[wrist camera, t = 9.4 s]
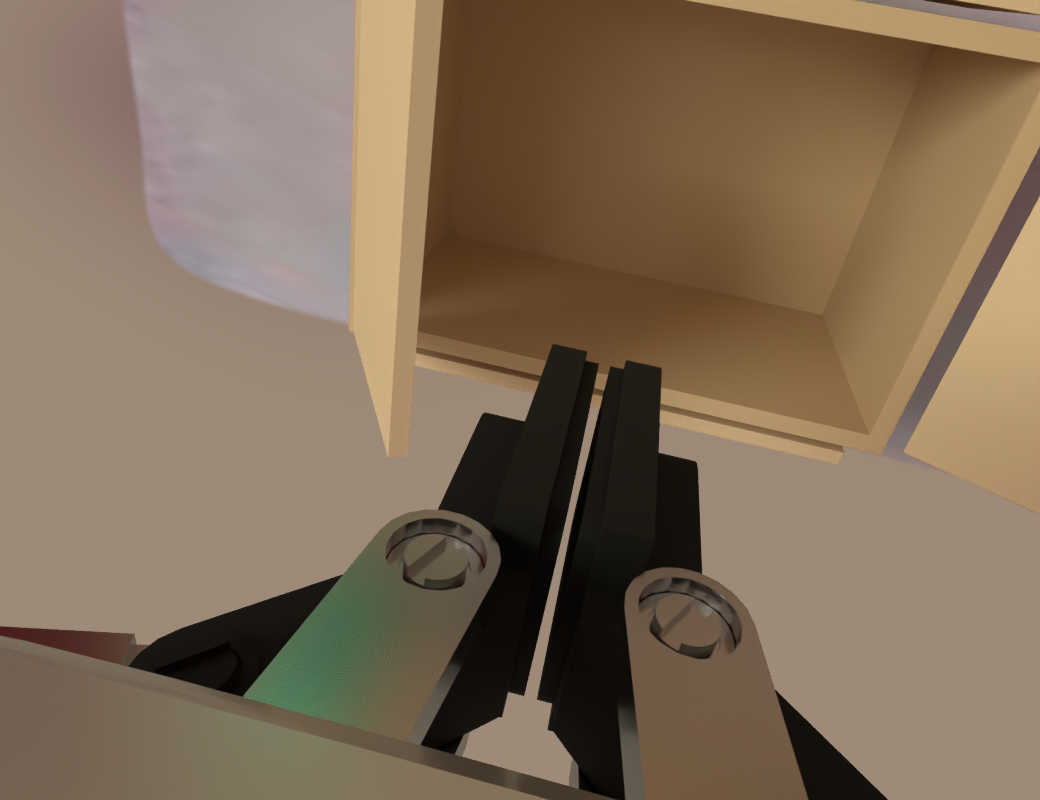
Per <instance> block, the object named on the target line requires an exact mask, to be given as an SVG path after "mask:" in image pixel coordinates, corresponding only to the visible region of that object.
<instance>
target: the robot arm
mask: <svg viewBox="0 0 1040 800" xmlns="http://www.w3.org/2000/svg"><path fill="white" fill-rule="evenodd" d="M586 356H587V351H584V350H579V349H575V348H570V347H566V346H561V345H557V344H553V345H552V347H551V350H550V353H549V356H548V358H547V361H546V364H545V367H544V370H543V372H542V375H541V378H540V381H539V384H538V387H537V389H536V392H535V395H534V398H533V401H532V404H531V406H530V409H529V412H528V415H527V417H526V420H525V422H524V421H520V420H515V419H511V418H507V417H502V416H498V415H494V414H489V413H483V414H482V416H481V418H480V420H479V422H478V424H477V426H476V429H475V431H474V433H473V435H472V437H471V439H470V441H469V444H468V446H467V448H466V450H465V452H464V454H463V457H462V459H461V461H460V463H459V465H458V467H457V470H456V472H455V474H454V476H453V478H452V481H451V482H450V485H449V487H448V489H447V491H446V493H445V495H444V498H443V500H442V502H441V504H440V506H439V509H438V510H421V511H416V512H410V513H406V514H404V515H402V516H400V517H397V518H395V519H393V520H391V521H390V522H389V523H388V524H387V525H385V526H384V527H383V528H382V529H381V530H380V531H379V532H378V533H377V534H376V535H375V537H374V538H373V539H372V540H371V541H370V543H369V544H368V545H367V546H366V547H365V549H364V550H363V551H362V553H361V554H360V555H359V556H358V557H357V558H356V560H355V561H354V562H353V563H352V564H351V566H350V567H349V568H348V570H347V571H346V572H345V573H344V574H343V575H340V576H337V577H334V578H331V579H328V580H325V581H322V582H319V583H316V584H313V585H310V586H307V587H304V588H301V589H298V590H295V591H292V592H289V593H286V594H283V595H280V596H277V597H274V598H271V599H268V600H265V601H262V602H259V603H256V604H253V605H250V606H247V607H244V608H241V609H238V610H235V611H232V612H229V613H226V614H223V615H220V616H217V617H214V618H211V619H208V620H205V621H202V622H199V623H196V624H193V625H190V626H187V627H184V628H181V629H179V630H177V631H174V632H172V633H170V634H168V635H166V636H164V637H161V638H159V639H157V640H156V641H155V642H153V643H152V644H151V645H136V639H135V634H128V633H110V632H93V631H92V632H91V631H75V630H57V629H40V628H38V629H37V628H22V627H4V626H0V800H887V798H886V797H885V796H884V795H883V794H882V793H880V791H878V790H877V789H876V788H875V787H874V786H873V785H872V784H871V783H870V782H869V781H868V780H867V779H866V778H865V777H864V776H863V775H862V774H861V773H860V772H859V771H858V770H857V769H856V768H855V767H854V766H853V765H852V764H851V763H850V762H849V761H848V760H847V759H846V758H845V757H844V756H843V755H842V754H841V753H839V751H837V750H836V749H835V748H834V747H833V746H832V745H831V744H830V743H829V742H828V741H827V740H826V739H825V738H824V737H823V736H822V735H821V734H820V733H819V732H818V731H817V730H816V729H815V728H814V727H813V726H812V725H811V724H810V723H809V722H808V721H807V720H806V719H805V718H804V717H803V716H802V715H801V714H800V713H798V711H796V710H795V709H794V708H793V707H792V706H791V705H790V704H789V703H788V702H787V701H786V700H785V699H784V698H783V697H782V696H781V695H780V694H779V693H778V692H777V691H776V690H775V689H774V685H773V682H772V679H771V676H770V672H769V669H768V666H767V662H766V659H765V656H764V653H763V650H762V646H761V643H760V640H759V636H758V633H757V630H756V626H755V624H754V622H753V620H752V618H751V616H750V614H749V611H748V609H747V608H746V607H745V606H744V604H743V603H742V602H741V601H740V600H739V599H738V598H737V596H736V595H735V594H734V593H732V592H731V591H730V590H728V589H727V588H726V587H724V586H723V585H722V584H720V583H719V582H717V581H715V580H713V579H711V578H709V577H707V576H705V575H703V574H702V561H701V560H702V559H701V535H700V511H699V489H698V488H699V486H698V468H697V463H696V462H695V461H691V460H687V459H683V458H679V457H674V456H670V455H666V454H662V453H658V449H659V426H660V403H661V380H662V368H660V367H656V366H651V365H647V364H642V363H638V362H633V361H629V360H626V362H625V365H624V369H621V368H617V367H612V366H610V369H609V373H608V377H607V381H606V385H605V389H604V393H603V397H602V401H601V405H600V410H599V414H598V418H597V422H596V426H595V430H594V434H593V438H592V442H591V447H590V451H589V455H588V459H587V463H586V467H585V471H584V475H583V479H582V483H581V488H580V491H579V495H578V500H577V504H576V508H575V512H574V517H573V521H572V526H571V531H570V536H569V541H568V546H567V552H566V556H565V562H564V566H563V571H562V576H561V581H560V586H559V591H558V596H557V602H556V606H555V611H554V616H553V622H552V627H551V631H550V636H549V642H548V647H547V652H546V656H545V662H544V666H543V671H542V676H541V682H540V686H539V691H538V697H537V700H541V701H545V702H548V703H552V708H551V714H550V719H549V725H548V730H550V731H553V732H554V733H555V734H556V736H557V737H558V738H559V740H560V741H561V743H562V744H563V745H564V747H565V748H566V749H567V751H568V752H569V753H570V755H571V756H572V758H573V760H572V763H571V769H570V776H569V786H566V785H562V784H559V783H555V782H552V781H548V780H544V779H541V778H537V777H534V776H530V775H526V774H522V773H519V772H515V771H512V770H508V769H504V768H501V767H497V766H494V765H490V764H486V763H482V762H479V761H476V760H472V759H468V758H465V757H462V755H463V753H464V751H465V748H466V744H467V740H468V737H469V732H470V731H472V730H474V729H476V728H478V727H480V726H482V725H484V724H486V723H488V722H490V721H492V720H494V719H496V718H498V717H502V715H503V711H504V707H505V702H506V698H507V694H508V692H511V693H515V694H519V695H522V696H524V694H525V690H526V685H527V681H528V677H529V672H530V668H531V664H532V660H533V656H534V652H535V648H536V644H537V639H538V635H539V631H540V627H541V622H542V618H543V614H544V610H545V605H546V601H547V597H548V593H549V589H550V585H551V581H552V576H553V572H554V568H555V564H556V559H557V555H558V551H559V547H560V543H561V539H562V534H563V530H564V525H565V521H566V517H567V512H568V508H569V503H570V498H571V494H572V489H573V484H574V479H575V475H576V470H577V465H578V461H579V456H580V451H581V447H582V442H583V437H584V433H585V428H586V423H587V418H588V413H589V409H590V404H591V400H592V395H593V390H594V386H595V381H596V376H597V371H598V367H599V363H594V362H590V361H586Z"/></svg>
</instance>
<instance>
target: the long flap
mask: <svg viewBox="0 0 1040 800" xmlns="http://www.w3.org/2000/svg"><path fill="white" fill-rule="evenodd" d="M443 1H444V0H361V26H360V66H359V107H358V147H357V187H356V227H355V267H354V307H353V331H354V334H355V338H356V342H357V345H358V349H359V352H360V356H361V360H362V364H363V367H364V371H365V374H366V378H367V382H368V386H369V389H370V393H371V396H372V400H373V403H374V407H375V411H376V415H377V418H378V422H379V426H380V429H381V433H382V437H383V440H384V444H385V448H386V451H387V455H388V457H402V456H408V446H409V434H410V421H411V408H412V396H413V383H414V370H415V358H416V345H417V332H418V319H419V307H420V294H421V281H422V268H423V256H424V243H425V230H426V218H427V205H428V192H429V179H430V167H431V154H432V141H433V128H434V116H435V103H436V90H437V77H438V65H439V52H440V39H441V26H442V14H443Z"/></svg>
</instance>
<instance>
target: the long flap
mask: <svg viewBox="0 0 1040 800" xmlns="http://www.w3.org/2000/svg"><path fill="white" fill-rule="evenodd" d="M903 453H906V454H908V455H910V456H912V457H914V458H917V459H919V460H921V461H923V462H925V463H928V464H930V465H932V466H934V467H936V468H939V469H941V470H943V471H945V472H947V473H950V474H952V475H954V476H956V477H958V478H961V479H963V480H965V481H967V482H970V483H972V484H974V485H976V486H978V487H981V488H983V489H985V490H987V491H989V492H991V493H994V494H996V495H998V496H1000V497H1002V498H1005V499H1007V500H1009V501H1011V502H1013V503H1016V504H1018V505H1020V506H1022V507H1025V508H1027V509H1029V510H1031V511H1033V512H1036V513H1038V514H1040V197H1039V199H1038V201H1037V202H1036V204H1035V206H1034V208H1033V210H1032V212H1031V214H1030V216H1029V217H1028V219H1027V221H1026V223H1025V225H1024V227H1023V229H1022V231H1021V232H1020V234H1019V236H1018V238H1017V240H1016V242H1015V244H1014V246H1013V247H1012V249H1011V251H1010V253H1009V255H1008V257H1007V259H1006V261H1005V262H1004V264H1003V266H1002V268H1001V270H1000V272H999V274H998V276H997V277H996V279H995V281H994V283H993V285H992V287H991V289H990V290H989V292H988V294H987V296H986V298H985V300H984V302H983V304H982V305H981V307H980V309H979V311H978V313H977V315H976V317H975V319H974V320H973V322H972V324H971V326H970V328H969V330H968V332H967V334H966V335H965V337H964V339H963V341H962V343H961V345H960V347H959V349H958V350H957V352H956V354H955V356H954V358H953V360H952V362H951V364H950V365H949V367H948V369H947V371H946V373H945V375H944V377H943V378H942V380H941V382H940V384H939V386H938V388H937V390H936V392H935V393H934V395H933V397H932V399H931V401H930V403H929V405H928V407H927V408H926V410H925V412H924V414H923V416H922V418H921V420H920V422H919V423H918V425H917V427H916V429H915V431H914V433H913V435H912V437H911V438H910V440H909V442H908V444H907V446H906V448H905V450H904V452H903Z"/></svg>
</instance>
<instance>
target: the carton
mask: <svg viewBox="0 0 1040 800" xmlns="http://www.w3.org/2000/svg"><path fill="white" fill-rule="evenodd" d="M925 1H930V2H936V3H942V4H948V5H954V6H960V7H966V8H973V9H983V10H993V11H1003V12H1013V13H1023V14H1032V15H1040V0H925ZM360 26H361V0H356V18H355V65H354V112H353V158H352V205H351V251H350V298H349V332H354V331H353V307H354V267H355V227H356V187H357V147H358V107H359V66H360ZM1039 147H1040V32H1035V31H1029V30H1024V29H1018V28H1012V27H1006V26H1000V25H995V24H989V23H983V22H977V21H971V20H966V19H960V18H954V17H948V16H942V15H937V14H931V13H925V12H919V11H913V10H907V9H902V8H896V7H890V6H884V5H878V4H873V3H867V2H861V1H855V0H444V1H443V14H442V26H441V39H440V52H439V65H438V77H437V90H436V103H435V116H434V128H433V141H432V154H431V167H430V179H429V192H428V205H427V218H426V230H425V243H424V256H423V268H422V281H421V294H420V307H419V319H418V332H417V345H416V358H415V366H419V367H423V368H428V369H432V370H436V371H440V372H445V373H449V374H453V375H458V376H462V377H466V378H470V379H475V380H479V381H483V382H488V383H492V384H496V385H500V386H504V387H509V388H513V389H517V390H522V391H526V392H530V393H534V394H535V392H536V389H537V387H538V384H539V381H540V378H541V375H542V372H543V370H544V367H545V364H546V361H547V358H548V356H549V353H550V350H551V347H552V345H553V344H557V345H561V346H566V347H570V348H575V349H579V350H584V351H587V356H586V361H590V362H594V363H599V367H598V371H597V376H596V381H595V386H594V390H593V395H592V400H591V404H590V407H594V408H598V409H600V405H601V401H602V397H603V393H604V389H605V385H606V381H607V377H608V373H609V369H610V366H612V367H617V368H621V369H624V365H625V362H626V360H629V361H633V362H638V363H642V364H647V365H651V366H656V367H660V368H662V380H661V403H660V423H662V424H666V425H671V426H675V427H679V428H683V429H687V430H692V431H696V432H700V433H704V434H709V435H713V436H717V437H722V438H726V439H730V440H734V441H739V442H743V443H747V444H751V445H756V446H760V447H764V448H769V449H773V450H777V451H781V452H786V453H790V454H794V455H798V456H802V457H807V458H811V459H815V460H819V461H824V462H828V463H833V464H836V465H838V464H839V462H840V460H841V458H842V456H843V454H844V451H843V448H842V446H845V447H849V448H853V449H858V450H862V451H866V452H871V453H875V454H879V455H881V454H882V452H883V450H884V448H885V446H886V444H887V442H888V440H889V438H890V436H891V434H892V432H893V431H894V429H895V427H896V425H897V423H898V421H899V419H900V417H901V415H902V413H903V411H904V409H905V407H906V405H907V403H908V401H909V399H910V398H911V396H912V394H913V392H914V390H915V388H916V386H917V384H918V382H919V380H920V378H921V376H922V374H923V372H924V370H925V368H926V366H927V364H928V363H929V361H930V359H931V357H932V355H933V353H934V351H935V349H936V347H937V345H938V343H939V341H940V339H941V337H942V335H943V333H944V331H945V330H946V328H947V326H948V324H949V322H950V320H951V318H952V316H953V314H954V312H955V310H956V308H957V306H958V304H959V302H960V300H961V298H962V297H963V295H964V293H965V291H966V289H967V287H968V285H969V283H970V281H971V279H972V277H973V275H974V273H975V271H976V269H977V267H978V265H979V264H980V262H981V260H982V258H983V256H984V254H985V252H986V250H987V248H988V246H989V244H990V242H991V240H992V238H993V236H994V234H995V232H996V230H997V229H998V227H999V225H1000V223H1001V221H1002V219H1003V217H1004V215H1005V213H1006V211H1007V209H1008V207H1009V205H1010V203H1011V201H1012V199H1013V197H1014V196H1015V194H1016V192H1017V190H1018V188H1019V186H1020V184H1021V182H1022V180H1023V178H1024V176H1025V174H1026V172H1027V170H1028V168H1029V166H1030V164H1031V163H1032V161H1033V159H1034V157H1035V155H1036V153H1037V151H1038V149H1039Z"/></svg>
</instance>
